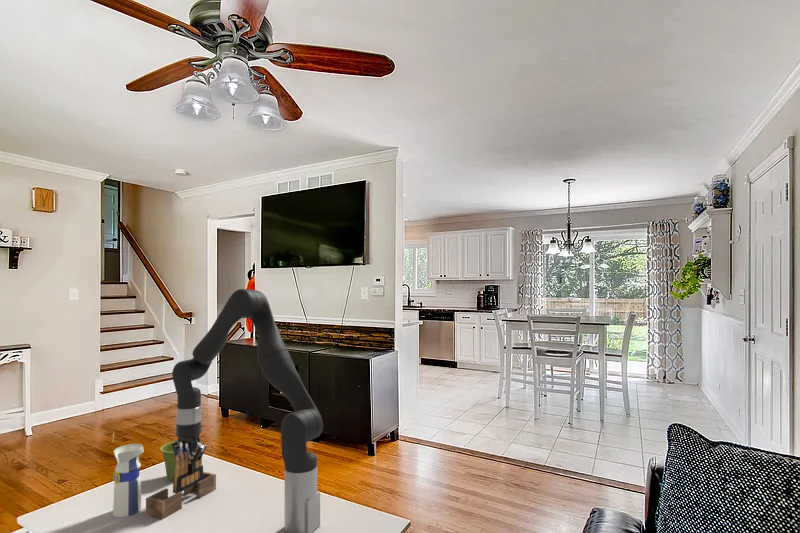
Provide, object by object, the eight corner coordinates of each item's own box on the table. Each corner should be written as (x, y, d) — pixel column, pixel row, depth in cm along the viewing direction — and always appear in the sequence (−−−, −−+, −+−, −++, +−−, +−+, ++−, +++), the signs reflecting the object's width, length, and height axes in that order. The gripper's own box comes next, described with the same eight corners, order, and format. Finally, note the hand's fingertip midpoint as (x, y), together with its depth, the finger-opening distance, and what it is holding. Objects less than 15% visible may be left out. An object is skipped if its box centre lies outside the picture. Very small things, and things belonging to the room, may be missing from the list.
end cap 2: (183, 494, 148) (184, 479, 148) (200, 485, 154) (200, 471, 155) (199, 498, 145) (199, 482, 145) (216, 489, 152) (216, 474, 152)
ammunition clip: (176, 494, 140) (177, 455, 141) (172, 493, 141) (173, 454, 141) (203, 480, 150) (203, 444, 150) (199, 479, 151) (199, 443, 151)
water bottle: (120, 521, 132) (121, 435, 133) (106, 513, 136) (107, 431, 137) (148, 509, 139) (149, 428, 140) (133, 502, 143) (135, 423, 144)
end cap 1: (181, 508, 139) (181, 492, 139) (162, 519, 132) (162, 502, 133) (165, 504, 141) (165, 488, 142) (145, 514, 135) (145, 498, 135)
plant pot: (152, 484, 156) (153, 451, 157) (171, 470, 168) (171, 439, 168) (185, 484, 156) (186, 451, 156) (202, 470, 168) (202, 440, 168)
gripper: (213, 419, 147) (213, 472, 146) (183, 415, 152) (182, 466, 152) (195, 426, 140) (194, 481, 139) (164, 421, 145) (163, 475, 145)
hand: (188, 473), depth 146 cm, fingers closed on ammunition clip, 2 cm apart
